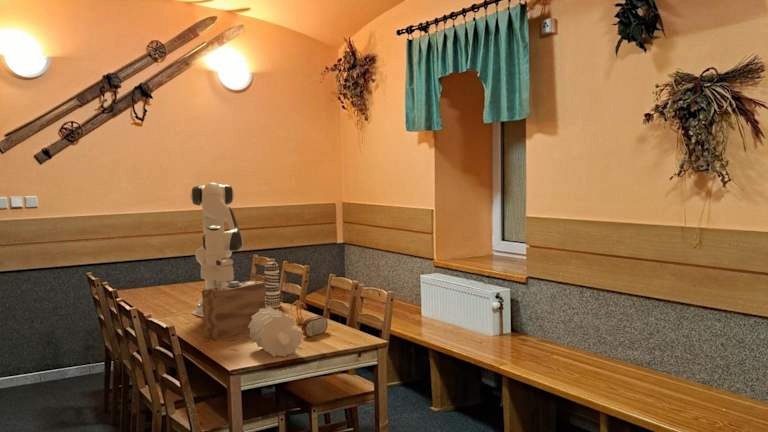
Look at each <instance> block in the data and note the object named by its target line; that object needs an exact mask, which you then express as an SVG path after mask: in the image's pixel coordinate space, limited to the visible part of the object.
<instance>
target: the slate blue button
mask: <svg viewBox="0 0 768 432" xmlns="http://www.w3.org/2000/svg"><path fill="white" fill-rule="evenodd" d="M239 283H240V281H237V280H233V281H229V282H228V285H229V287H230V288H235V287H239Z"/></svg>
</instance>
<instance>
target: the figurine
mask: <svg viewBox="0 0 768 432" xmlns="http://www.w3.org/2000/svg"><path fill="white" fill-rule="evenodd" d="M301 304H302V305H303V306H304V307H305V309H307V308H308V307H307V306H306V304H305V303H304V302H301V301H300V300H299V299H297V300H296V301H294V302H293V303H292V304H291V306H290V311H292V309H293V306H294V305H296V306H295V311H296V315H297V317H296V318H295V323H296V324H298V325H302V324H303V322H304V321H305V318H304V317H303V316H302V311H303V310H302V306H300V305H301Z"/></svg>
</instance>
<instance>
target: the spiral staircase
mask: <svg viewBox="0 0 768 432" xmlns="http://www.w3.org/2000/svg"><path fill="white" fill-rule="evenodd" d="M251 317H252V321H251V322H250V324H249V326H248V328H250V331H249V338H250V339H251V340H252V343H253V344H254V343H256V345H257V347H258V348H263V350H264V352H265V353H266V352H267V353H269V354H270V355H271V356H273V357H274V358H275V357H277V356H279V357H284V358H285V357H287V355H290V354H292V353H295V352H297V348H299V346H300V345H301V344H302V343H303V341H302V339H303V336H304V335H303V331H302V330H300V329H298V328H295V326H296V325H297V323H296V321H295V320H294V318H293V316H290V315H289V314H285V313H283V312H282V310H279V308H276V309H275V308H271V307H268V308H266V309H259V312H258V313H256V314H254V315H253V316H251Z"/></svg>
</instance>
